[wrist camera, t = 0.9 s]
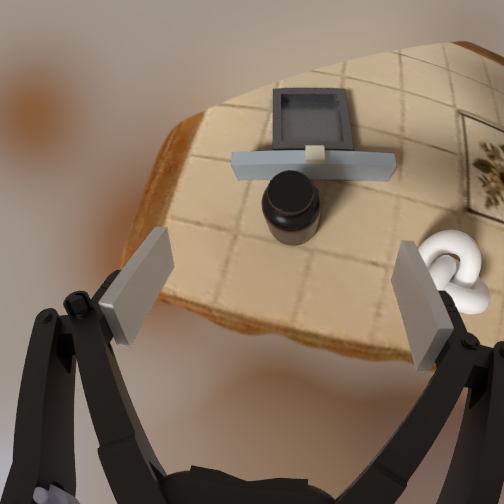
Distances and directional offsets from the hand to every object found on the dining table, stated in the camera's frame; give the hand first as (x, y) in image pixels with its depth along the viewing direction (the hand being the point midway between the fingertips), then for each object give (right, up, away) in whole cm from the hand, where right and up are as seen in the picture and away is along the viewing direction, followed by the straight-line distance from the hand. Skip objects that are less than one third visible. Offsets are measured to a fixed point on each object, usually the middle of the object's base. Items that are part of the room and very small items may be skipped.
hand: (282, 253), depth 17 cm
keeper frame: (+8, +20, +28) cm, 35 cm away
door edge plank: (+7, +11, +27) cm, 30 cm away
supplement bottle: (+4, +4, +26) cm, 27 cm away
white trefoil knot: (+23, -5, +21) cm, 32 cm away
